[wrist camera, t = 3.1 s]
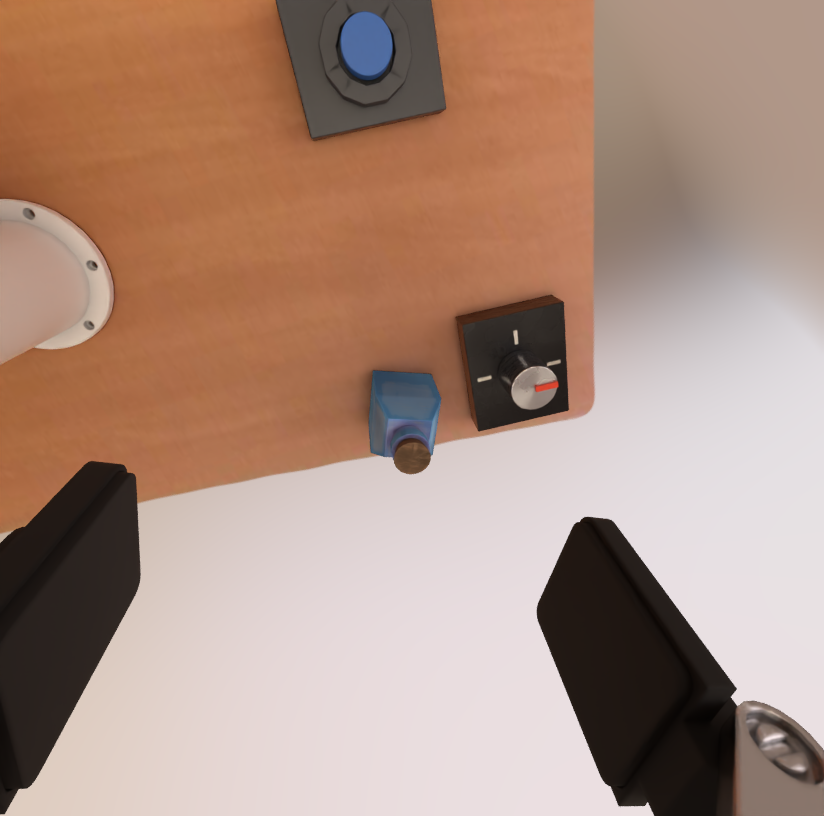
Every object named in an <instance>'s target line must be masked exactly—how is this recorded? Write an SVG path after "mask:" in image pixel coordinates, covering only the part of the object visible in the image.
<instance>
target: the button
mask: <svg viewBox="0 0 824 816" xmlns="http://www.w3.org/2000/svg"><path fill="white" fill-rule="evenodd" d="M340 46H341V55H342V59H343V61H344V64H345V66H346V67H347V69H348V70H349V71H350V73H352V74H353V75H354V76H355V77H357V78H359V79H362V80H373V79H376V78H378V77H379V76H381V75H382V74H383V73H384V72H385V70H386V69H387V67H388V65H389V62H390V59H391V55H392V49H393V43H392V37H391V33H390V30H389V28H388V26H387V25H386V23H385V22H384V21H383V20H382V19H381V18H380V17H379V16H378V15H376V14H374V13H372V12H367V11H363V12H358V13H356V14H354V15H352V16H351V17H350V18H349V19H348V20H347V21H346V23H345V24H344V26H343V29H342V32H341V37H340Z"/></svg>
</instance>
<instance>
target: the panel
mask: <svg viewBox="0 0 824 816" xmlns="http://www.w3.org/2000/svg"><path fill="white" fill-rule="evenodd" d="M456 320H457V326H458V333H459V339H460V345H461V352H462V358H463V365H464V371H465V377H466V384H467V390H468V396H469V403H470V409H471V415H472V419H473V421H474V423H475V425H476V427H477V429H478V431H482V430H487V429H491V428H495V427H500V426H504V425H508V424H512V423H517V422H521V421H525V420H530V419H534V418H538V417H543V416H547V415H551V414H555V413H560V412H564V411H568V410H569V405H568V384H567V362H566V340H565V319H564V302H563V301H561V300H559V299H558V298H556V297H554V296H553V295H550V296H545V297H541V298H537V299H532V300H528V301H523V302H519V303H515V304H510V305H506V306H502V307H497V308H493V309H488V310H484V311H480V312H475V313H471V314H467V315H462V316H458V317H456ZM519 350H526V351H530V352H532V353H533V354H535V355H536V356H537V357H538V358H539V359H540V360H541V361H542V362H543V363H544V364H545V365H546V366H547V367H548V368H549V369H550V370H551V371H552V372H553V373H554V374H555V376H556V379H557V381H558V387H557V390H556V393H555V395H554V397H553V398H552V399H551V400H550V402H548V403H547V404H546V405H544V406H543V407H540V408H537V409H531V410H530V409H524V408H521V407H519V406H518V405H517V404H516V403H515V402H514V401H513V399H512V398H511V397H510V395H509V394H508V392H507V391H506V390H505V388H504V387H503V386H502V384H501V383H500V381H499V378H498V369H499V366H500V364H501V362H502V360H503V359H504V358H505V357H506V356H507V355H509V354H510V353H512V352H515V351H519Z"/></svg>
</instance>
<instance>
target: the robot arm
mask: <svg viewBox="0 0 824 816" xmlns="http://www.w3.org/2000/svg"><path fill="white" fill-rule="evenodd" d="M32 211H33V212H34V214H35V216H34V214H33V212H32ZM94 262H96V264H97V266H98V267H97V266H95V264H94ZM113 302H114V285H113V281H112V277H111V273H110V270H109V268H108V266H107V263H106V261H105V259H104V257H103V256H102V254H101V253H100V251H99V249H98V248H97V246H96V245H95V244H94V243H93V241H92V240H91V239H90V238H89V237H88V236H87V235H86V234H85V232H83V231H82V230H81V229H80V228H79V227H78V226H76V225H75V224H74V223H73V222H72V221H70V220H69V219H67V218H65V217H64V216H62V215H61V214H59V213H57V212H56V211H54V210H51V209H49V208H47V207H44V206H42V205H40V204H36V203H32V202H28V201H25V200H16V199H0V365H1V364H3V363H5V362H7V361H9V360H11V359H13V358H14V357H16V356H18V355H20V354H22V353H24V352H26V351H28V350H30V349H31V348H33V347H34V348H39V349H62V348H69V347H72V346H75V345H78V344H81V343H83V342H84V341H86V340H88V339H90V338H91V337H92V336H94V335H95V334H96V333H98V332H99V331H100V330H101V329H102V327H103V326H104V325H105V324H106V322H107V321H108V318H109V316H110V314H111V312H112V308H113ZM91 322H92V323H93V324H94V325H93V324H92V323H91ZM139 583H140V553H139V531H138V511H137V489H136V477H135V475H134V474H133V473H127V469H126V467H125V466H124V465H122V464H113V463H104V462H95V461H90V462H88V463H86V464H85V465H84V466H83V467H82V468H81V469H80V470H79V471H78V472H77V473H76V474H75V475H74V476H73V478H72V479H71V480H70V481H69V482H68V483H67V484H66V485H65V486H64V487H63V488H62V489H61V490H60V491H59V492H58V493H57V494H56V495H55V496H54V497H53V498H52V499H51V500H50V502H49V503H48V504H47V505H46V506H45V507H44V508H43V509H42V510H41V511H40V512H39V513H38V514H37V515H36V516H35V517H34V518H33V519H32V520H31V521H30V522H29V523H28V524H27V525H26V527H21V528H18V529H16V530H14V531H13V532H12V533H11V534H9V535H8V536H7V537H6V538H5V539H4V540H3V541H2V542H1V543H0V814H5V812H6V811H7V809H8V807H9V805H10V803H11V802H12V800H13V798H14V796H15V794H16V793H17V791H18V789H25V788H28V787H30V786H31V785H32V783H33V782H34V781H35V779H36V778H37V776H38V775H39V773H40V771H41V769H42V767H43V765H44V764H45V762H46V760H47V758H48V756H49V754H50V752H51V751H52V749H53V747H54V745H55V743H56V741H57V739H58V738H59V736H60V734H61V732H62V730H63V728H64V726H65V725H66V723H67V721H68V719H69V717H70V715H71V713H72V712H73V710H74V708H75V706H76V704H77V702H78V700H79V699H80V697H81V695H82V693H83V691H84V689H85V687H86V686H87V684H88V682H89V680H90V678H91V676H92V674H93V673H94V671H95V669H96V667H97V665H98V663H99V661H100V660H101V658H102V656H103V654H104V652H105V650H106V648H107V646H108V645H109V643H110V641H111V639H112V637H113V635H114V634H115V632H116V630H117V628H118V626H119V624H120V622H121V620H122V619H123V617H124V615H125V613H126V611H127V609H128V607H129V606H130V604H131V602H132V600H133V598H134V596H135V594H136V592H137V590H138V586H139ZM537 619H538V622H539V624H540V627H541V629H542V632H543V634H544V637H545V639H546V642H547V644H548V647H549V649H550V652H551V654H552V657H553V659H554V662H555V664H556V667H557V669H558V671H559V674H560V677H561V679H562V682H563V684H564V686H565V689H566V692H567V694H568V696H569V699H570V701H571V704H572V706H573V709H574V711H575V714H576V716H577V719H578V721H579V724H580V726H581V729H582V731H583V734H584V736H585V739H586V741H587V743H588V746H589V748H590V751H591V754H592V756H593V758H594V761H595V763H596V766H597V768H598V771H599V773H600V776H601V778H602V779H603V781H604V782H605V784H607V785H608V786H611V788H612V791H613V793H614V795H615V798H616V801H617V803H618V805H619V806H645V805H646V803H647V802H648V803H649V805H650V808H651V810H652V812H653V814H654V816H824V750H823V748H822V747H821V746H820V745H819V744H818V743H817V742H816V740H814V738H813V737H812V736H811V735H810V734H809V733H808V732H807V731H806V730H805V729H804V728H803V727H802V726H800V725H799V724H798V723H797V722H796V721H795V720H793V719H792V718H790V717H788V716H787V715H786V714H784V713H783V712H781V711H779V710H778V709H775V708H774V707H771V706H769V705H767V704H764V703H760V702H757V701H744V702H743V703H741V704H740V705H739V706H737V705H736V704H735V702H734V701H733V700H732V698H731V696H732V694H733V693H734V692H735V691H736V689H737V688H736V687H735V686H734V684H733V683H732V682H731V680H730V679H729V678H728V676H727V675H726V674H725V672H724V671H723V670H722V668H721V667H720V665H719V664H718V663H717V661H716V660H715V659H714V657H713V656H712V655H711V653H710V652H709V650H708V649H707V648H706V646H705V645H704V644H703V642H702V641H701V640H700V639H699V637H698V636H697V634H696V633H695V631H694V630H693V629H692V627H691V626H690V625H689V624H688V622H687V621H686V619H685V618H684V617H683V615H682V614H681V613H680V611H679V610H678V608H677V607H676V606H675V604H674V603H673V602H672V600H671V599H670V598H669V596H668V595H667V594H666V592H665V591H664V590H663V588H662V587H661V585H660V584H659V583H658V582H657V580H656V579H655V577H654V576H653V575H652V573H651V572H650V571H649V569H648V568H647V566H646V565H645V564H644V562H643V561H642V560H641V558H640V557H639V556H638V554H637V553H636V552H635V550H634V549H633V547H632V546H631V545H630V543H629V542H628V541H627V539H626V538H625V537H624V535H623V534H622V533H621V531H620V530H619V529H618V527H617V526H616V524H615V523H614V522H613V521H612V520H609V519H603V518H593V517H584V518H583V519H581V521H580V522H577V523H576V524H574V526H573V528H572V530H571V532H570V534H569V536H568V539H567V541H566V543H565V545H564V547H563V550H562V552H561V554H560V556H559V559H558V561H557V563H556V565H555V568H554V570H553V572H552V574H551V576H550V578H549V581H548V583H547V585H546V587H545V589H544V592H543V594H542V596H541V598H540V600H539V603H538V606H537Z"/></svg>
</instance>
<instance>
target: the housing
mask: <svg viewBox="0 0 824 816" xmlns="http://www.w3.org/2000/svg"><path fill="white" fill-rule="evenodd" d="M276 4H277V8H278V12H279V16H280V20H281V23H282V27H283V31H284V35H285V39H286V43H287V47H288V50H289V54H290V58H291V62H292V66H293V70H294V74H295V77H296V81H297V85H298V89H299V93H300V97H301V101H302V105H303V108H304V112H305V116H306V120H307V124H308V128H309V132H310V135H311V138H312V140H314V141H315V140H320V139H324V138H329V137H333V136H338V135H342V134H347V133H351V132H356V131H360V130H365V129H369V128H374V127H378V126H383V125H387V124H392V123H396V122H401V121H405V120H410V119H414V118H419V117H423V116H428V115H432V114H437V113H441V112H442V111H444V110H445V109H446V103H445V96H444V89H443V82H442V74H441V67H440V60H439V53H438V45H437V38H436V31H435V24H434V16H433V9H432V2H431V0H276ZM363 11H367V12H372V13H374V14H376V15H378V16H379V17H380V18H381V19H382V20H383V21H384V22H385V23H386V25H387V26H388V28H389V30H390V33H391V37H392V43H393V49H392V55H391V59H390V62H389V65H388V67H387V69H386V70H385V72H384V73H383V74H382V75H381V76H379V77H378V78H376V79H373V80H362V79H359V78H357V77H355V76H354V75H353V74H352V73H350V71H349V70H348V69H347V67H346V66H345V64H344V61H343V59H342V55H341V46H340V37H341V32H342V29H343V26H344V24H345V23H346V21H347V20H348V19H349V18H350V17H351V16H352V15H354V14H356V13H358V12H363Z"/></svg>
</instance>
